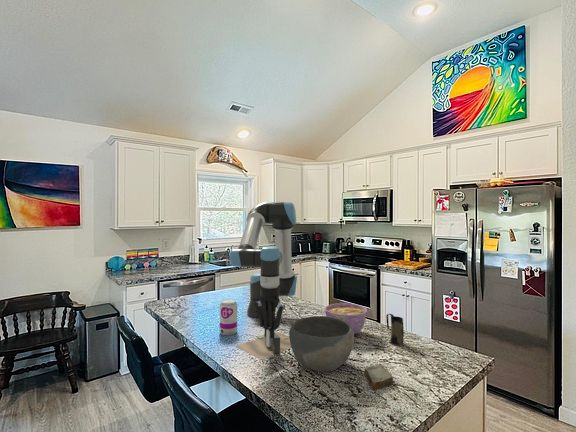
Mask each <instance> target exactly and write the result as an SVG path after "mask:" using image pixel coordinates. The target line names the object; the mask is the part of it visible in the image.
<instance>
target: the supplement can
mask: <svg viewBox="0 0 576 432" xmlns="http://www.w3.org/2000/svg"><path fill="white" fill-rule="evenodd" d="M219 332H220V334H221V335H222V336H233V335H235V334H236V333H237V332H238V302H237V300H235V299H231V298H230V299H223V300H221V301H220V304H219Z"/></svg>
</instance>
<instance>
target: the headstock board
mask: <svg viewBox="0 0 576 432" xmlns="http://www.w3.org/2000/svg"><path fill="white" fill-rule="evenodd" d="M275 334H278V336H279V337H280V353H283V352H285V351H288V350H292V347H291V344H290V338H289V335H286V334H283V333H281V332H278V331H277V332H275ZM255 337H256V339H255V338H254V339H252V340H248V341H246V342H243V343H240V344H236V345H235V346H234V347H235V348H237V349H239V350H241V351H243V352H246V353H247V354H250V355H252V356H253V357H255V358H257V359H259V360H265V359H267V358H269V357H270V358H271V357H272V356H275V355H277V354H279V353H274V352H273V351H272V346H270V347H267V346H266V345H265V336H264V334H261V335H257V336H255Z"/></svg>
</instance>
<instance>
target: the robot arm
mask: <svg viewBox="0 0 576 432" xmlns="http://www.w3.org/2000/svg"><path fill="white" fill-rule="evenodd" d="M245 219H246V225H245V228H244V230H243V234H242V236H241V239H240V242H239V245H238V248H236V249H232V250H230V253H229V263H230V265H231V266H232V267H236V268H260V272H256V273H253V274H252V275H250V277H249V278H250V281H249V287H250V288H249V289H250V290H249V293H250V294H249V295H250V296H249V297H250V301H249V303H248V308H247V309H246V315H247V316H248V317H251V318H258V323H259V326H260V327H261V328H263V329H264V332H265V335H264V334H263V335H264V336H265V337H266V346H267V347H270V346H271V345H273V337H274V332H275V330H277V329H279V327H280V323H281V319H282V316H283V311H284V310H285V308H286V305H285V304H282V303H281V299H280V297H293V296H295V294H296V288H297V281H298V275H297V274H295V271H294V270H293V266H292V265H293V263H292V261H293V260H292V230H293V228H294V226H295V225H297V214H296V208H295V204H294V203H293V202H287V201H267V202H261V203H259V204H257V205H256V206H254V207H253V208H252V209H251V210H250V211H249V212H248V214H247V216H246V218H245ZM264 225H271V227H272V229H273V231H274V237H275V246H264V247H262V248H261V249H256V248H257V245H258V241H259V237H260V235H261V234H260V233H261V230H262V228H263V226H264Z"/></svg>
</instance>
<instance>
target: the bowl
mask: <svg viewBox="0 0 576 432" xmlns="http://www.w3.org/2000/svg"><path fill="white" fill-rule="evenodd" d="M288 336H289V338H290V344H291V347H292V348H291V350H292V353H293V354H294V357H295V358H296V360H297V361H298V362H299V363H300V364H301V365H303V366H304V367H305V368H308V369H309V370H312V371H316V372H322V373H325V372H327V373H328V372H333V371H335V370H337V369H338V368H340V367H341V366H342V365H344V364H345V363H346V362H347V361H348V360H349V357H350V355H351V354H352V353H351V352H352V350H353V347H354V343H355V334H354V331H353V329H352V327H351V326H350V325H349V324H348V323H347V322H345V321H343V320H340V319H336V318H332V317H326V315H325V316H324V315H320V316H319V315H315V316H307V317H302V318H299V319H297V320H296V321H294V322H293V323H291V325H290V328H289V333H288Z"/></svg>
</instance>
